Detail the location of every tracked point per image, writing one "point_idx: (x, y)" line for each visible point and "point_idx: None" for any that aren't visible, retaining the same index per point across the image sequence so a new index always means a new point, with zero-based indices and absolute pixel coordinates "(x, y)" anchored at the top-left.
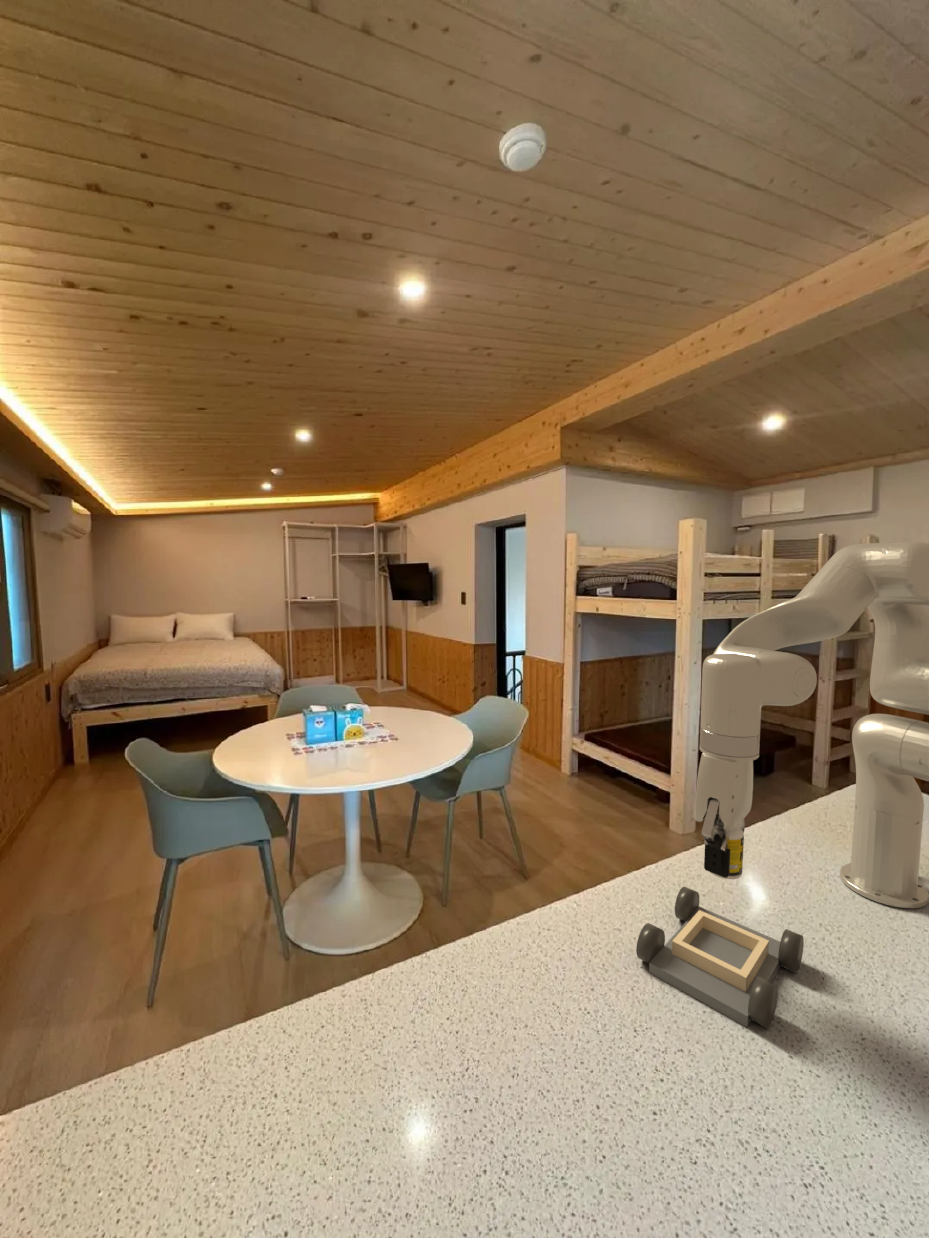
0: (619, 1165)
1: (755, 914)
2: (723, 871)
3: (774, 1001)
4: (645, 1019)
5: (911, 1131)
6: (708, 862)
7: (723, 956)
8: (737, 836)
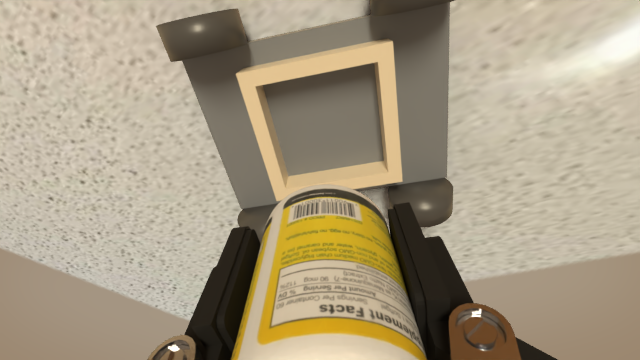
0: None
1: (533, 80)
2: None
3: None
4: (116, 117)
5: None
6: (209, 277)
7: (325, 130)
8: None
